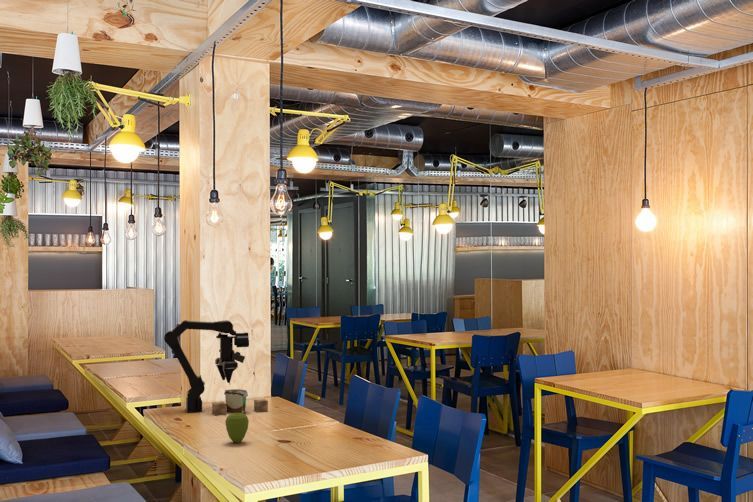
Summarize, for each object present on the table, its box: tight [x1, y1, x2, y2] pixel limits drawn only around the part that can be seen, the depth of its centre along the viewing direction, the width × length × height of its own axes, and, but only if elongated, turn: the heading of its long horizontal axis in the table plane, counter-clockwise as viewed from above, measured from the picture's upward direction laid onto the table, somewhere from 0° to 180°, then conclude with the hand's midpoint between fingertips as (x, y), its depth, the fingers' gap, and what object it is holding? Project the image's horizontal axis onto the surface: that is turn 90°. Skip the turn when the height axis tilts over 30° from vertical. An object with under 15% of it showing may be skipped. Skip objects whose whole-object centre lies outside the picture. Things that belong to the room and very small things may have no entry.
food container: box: [223, 388, 249, 415], centre depth 325 cm, size 12×6×10 cm, turn 58°
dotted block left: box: [211, 401, 227, 417], centre depth 321 cm, size 5×5×5 cm
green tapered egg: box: [224, 412, 250, 444], centre depth 268 cm, size 9×8×12 cm
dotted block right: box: [253, 398, 269, 413], centre depth 328 cm, size 5×5×5 cm
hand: (226, 381), depth 332 cm, fingers open, 9 cm apart
